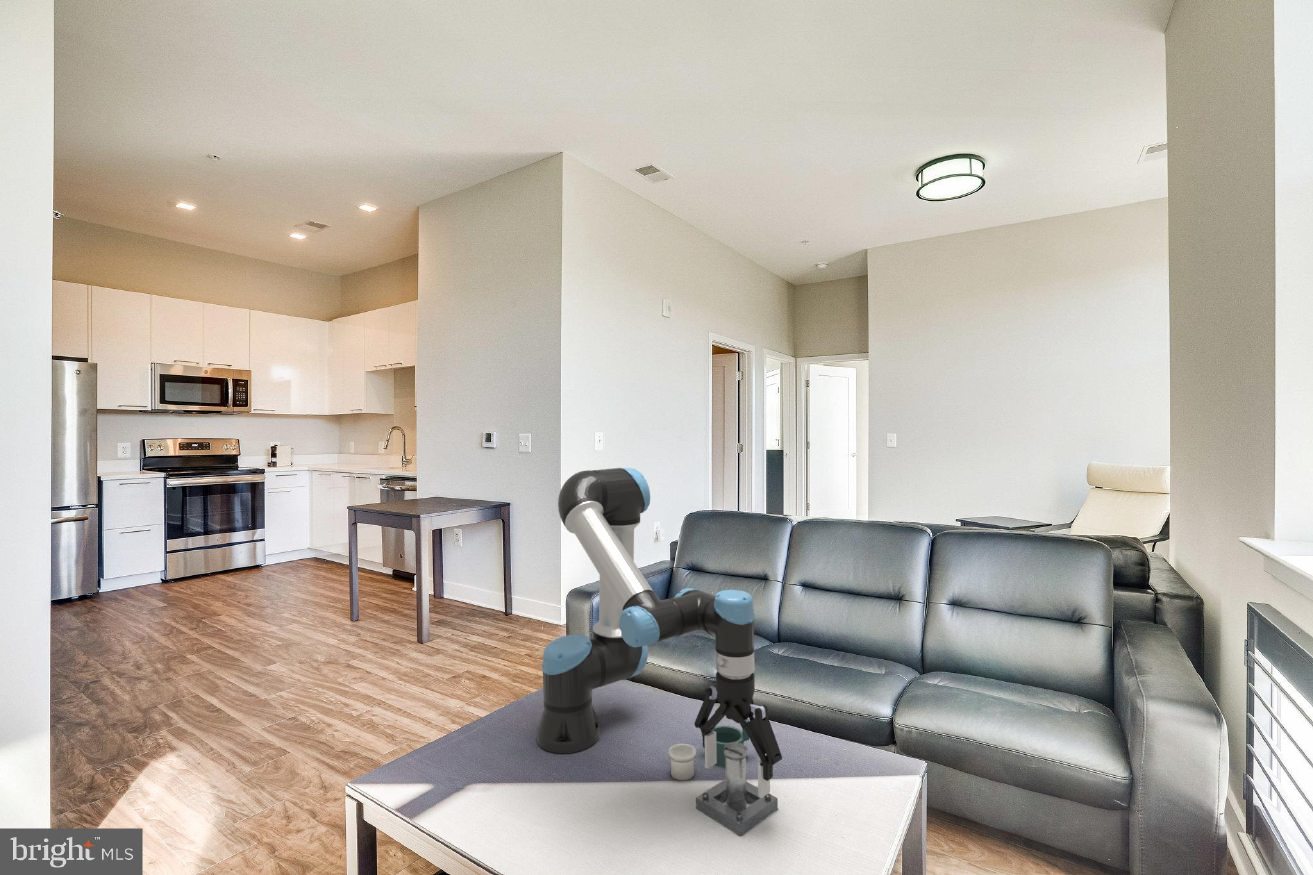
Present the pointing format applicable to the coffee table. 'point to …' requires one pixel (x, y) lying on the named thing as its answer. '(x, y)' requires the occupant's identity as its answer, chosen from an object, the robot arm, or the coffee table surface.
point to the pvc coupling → (682, 761)
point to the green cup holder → (727, 740)
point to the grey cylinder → (735, 775)
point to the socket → (730, 818)
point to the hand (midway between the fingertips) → (736, 779)
